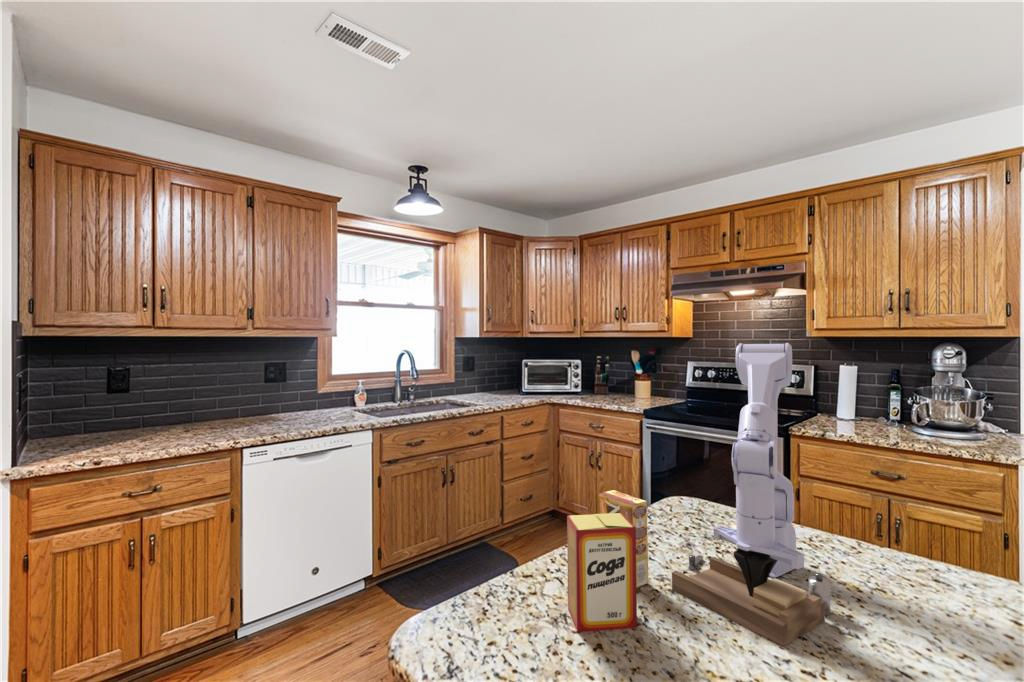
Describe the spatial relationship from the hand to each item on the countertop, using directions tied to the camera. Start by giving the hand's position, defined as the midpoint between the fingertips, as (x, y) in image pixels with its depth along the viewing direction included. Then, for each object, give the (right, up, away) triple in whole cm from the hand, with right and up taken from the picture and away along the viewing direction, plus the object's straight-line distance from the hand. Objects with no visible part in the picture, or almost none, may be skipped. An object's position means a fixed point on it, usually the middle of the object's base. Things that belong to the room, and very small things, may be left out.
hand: (756, 595), depth 81 cm
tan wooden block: (+2, -1, -3) cm, 4 cm away
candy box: (-19, -3, +12) cm, 23 cm away
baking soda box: (-26, -3, -2) cm, 26 cm away
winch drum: (+10, -2, 0) cm, 11 cm away
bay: (-1, -2, +2) cm, 3 cm away
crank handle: (-4, -3, +17) cm, 18 cm away
